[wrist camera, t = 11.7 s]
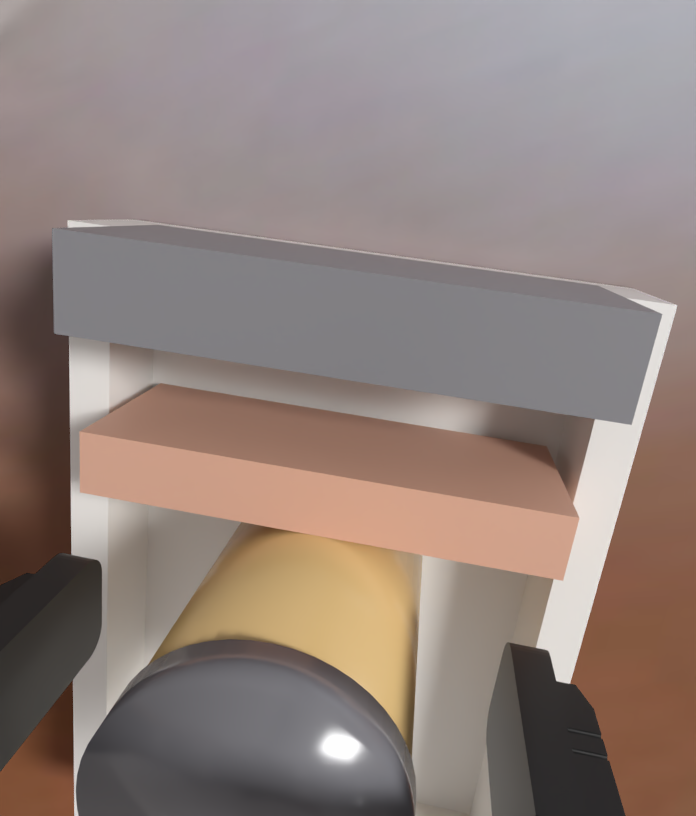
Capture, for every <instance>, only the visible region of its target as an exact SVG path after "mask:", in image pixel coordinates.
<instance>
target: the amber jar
mask: <svg viewBox="0 0 696 816" xmlns="http://www.w3.org/2000/svg"><path fill="white" fill-rule="evenodd" d="M422 560H423V555H419V554H414V553H408V552H403V551H397V550H392V549H386V548H381V547H375V546H370V545H364V544H359V543H354V542H348V541H343V540H337V539H332V538H326V537H321V536H315V535H310V534H304V533H299V532H293V531H288V530H282V529H277V528H272V527H266V526H261V525H255V524H250V523H244V522H241V523H240V524H239V526H238V527H237V529H236V530H235V532H234V534H233V535H232V537H231V538H230V540H229V541H228V543H227V544H226V546H225V547H224V549H223V550H222V552H221V553H220V555H219V556H218V558H217V560H216V561H215V563H214V564H213V566H212V567H211V569H210V570H209V572H208V573H207V575H206V576H205V578H204V579H203V581H202V582H201V584H200V586H199V587H198V589H197V590H196V592H195V593H194V595H193V596H192V598H191V599H190V601H189V602H188V604H187V605H186V607H185V609H184V610H183V612H182V613H181V615H180V616H179V618H178V619H177V621H176V622H175V624H174V625H173V627H172V628H171V630H170V631H169V633H168V635H167V636H166V638H165V639H164V641H163V642H162V644H161V645H160V647H159V648H158V650H157V651H156V653H155V654H154V656H153V657H152V659H151V661H150V662H149V664H148V665H147V666H146V667H145V668H144V669H142V670H141V671H140V672H139V673H138V674H137V675H136V676H135V677H134V678H133V679H132V680H131V681H130V682H129V684H128V685H127V687H126V688H125V689H124V691H123V692H122V694H121V695H120V697H119V698H118V700H117V701H116V703H115V704H114V706H113V707H112V709H111V710H110V712H109V713H108V715H107V716H106V718H105V719H104V721H103V722H102V724H101V725H100V727H99V728H98V730H97V731H96V733H95V734H94V736H93V737H92V739H91V740H90V742H89V743H88V745H87V747H86V749H85V752H84V754H83V756H82V758H81V761H80V765H79V769H78V773H77V781H76V801H77V810H78V814H79V816H415V812H416V776H415V771H414V767H413V762H412V746H413V728H414V709H415V691H416V672H417V653H418V635H419V616H420V598H421V579H422Z"/></svg>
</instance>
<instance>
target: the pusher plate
mask: <svg viewBox="0 0 696 816" xmlns="http://www.w3.org/2000/svg"><path fill="white" fill-rule="evenodd" d="M79 436H80V493H86V494H91V495H97V496H102V497H108V498H113V499H119V500H124V501H129V502H135V503H140V504H146V505H151V506H157V507H162V508H168V509H173V510H179V511H184V512H190V513H195V514H200V515H206V516H211V517H217V518H222V519H228V520H233V521H239V522H244V523H250V524H255V525H261V526H266V527H272V528H277V529H282V530H288V531H293V532H299V533H304V534H310V535H315V536H321V537H326V538H332V539H337V540H343V541H348V542H354V543H359V544H364V545H370V546H375V547H381V548H386V549H392V550H397V551H403V552H408V553H414V554H419V555H425V556H430V557H435V558H441V559H446V560H452V561H457V562H463V563H468V564H474V565H479V566H485V567H490V568H496V569H501V570H507V571H512V572H517V573H523V574H528V575H534V576H539V577H545V578H550V579H556V580H561V581H563V579H564V575H565V571H566V568H567V564H568V560H569V556H570V553H571V549H572V545H573V541H574V537H575V534H576V530H577V526H578V522H579V516H578V514H577V511H576V509H575V507H574V505H573V503H572V500H571V498H570V496H569V494H568V492H567V490H566V487H565V485H564V483H563V481H562V479H561V476H560V474H559V472H558V470H557V468H556V466H555V463H554V461H553V459H552V457H551V455H550V452H549V450H548V448H547V446H542V445H536V444H530V443H524V442H518V441H512V440H505V439H499V438H493V437H487V436H481V435H475V434H469V433H463V432H456V431H450V430H444V429H438V428H432V427H426V426H420V425H414V424H407V423H401V422H395V421H389V420H383V419H377V418H371V417H365V416H358V415H352V414H346V413H340V412H334V411H328V410H322V409H316V408H309V407H303V406H297V405H291V404H285V403H279V402H273V401H267V400H260V399H254V398H248V397H242V396H236V395H230V394H224V393H218V392H211V391H205V390H199V389H193V388H187V387H181V386H175V385H168V384H162V383H160V384H158V385H157V386H155V387H153V388H152V389H150V390H148V391H147V392H145V393H143V394H142V395H140V396H138V397H136V398H135V399H133V400H131V401H130V402H128V403H126V404H125V405H123V406H121V407H120V408H118V409H116V410H115V411H113V412H111V413H110V414H108V415H106V416H105V417H103V418H101V419H100V420H98V421H96V422H95V423H93V424H91V425H90V426H88V427H86V428H84V429H83V430H81V431H79Z"/></svg>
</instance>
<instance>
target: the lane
mask: <svg viewBox="0 0 696 816" xmlns="http://www.w3.org/2000/svg"><path fill="white" fill-rule="evenodd" d="M52 254H53V307H54V334H59V335H65V336H69V380H70V468H71V555H75V556H80V557H85V558H90V559H95V560H98V561H99V562H100V564H101V567H102V628H101V634H100V637H99V641H98V644H97V646H96V648H95V650H94V652H93V654H92V656H91V657H90V659H89V660H88V661H87V662H86V664H85V665H84V666H83V668H82V669H81V670H80V671H79V673H78V674H77V675H76V676H75V678H74V679H73V733H74V816H79V814H78V810H77V801H76V781H77V773H78V769H79V765H80V761H81V758H82V756H83V754H84V752H85V749H86V747H87V745H88V743H89V742H90V740H91V739H92V737H93V736H94V734H95V733H96V731H97V730H98V728H99V727H100V725H101V724H102V722H103V721H104V719H105V718H106V716H107V715H108V713H109V712H110V710H111V709H112V707H113V706H114V704H115V703H116V701H117V700H118V698H119V697H120V695H121V694H122V692H123V691H124V689H125V688H126V687H127V685H128V684H129V682H130V681H131V680H132V679H133V678H134V677H135V676H136V675H137V674H138V673H139V672H140V671H141V670H142V669H144V668H145V667H146V666H147V665H148V664H149V662H150V661H151V659H152V657H153V656H154V654H155V653H156V651H157V650H158V648H159V647H160V645H161V644H162V642H163V641H164V639H165V638H166V636H167V635H168V633H169V631H170V630H171V628H172V627H173V625H174V624H175V622H176V621H177V619H178V618H179V616H180V615H181V613H182V612H183V610H184V609H185V607H186V605H187V604H188V602H189V601H190V599H191V598H192V596H193V595H194V593H195V592H196V590H197V589H198V587H199V586H200V584H201V582H202V581H203V579H204V578H205V576H206V575H207V573H208V572H209V570H210V569H211V567H212V566H213V564H214V563H215V561H216V560H217V558H218V556H219V555H220V553H221V552H222V550H223V549H224V547H225V546H226V544H227V543H228V541H229V540H230V538H231V537H232V535H233V534H234V532H235V530H236V529H237V527H238V526H239V524H240V523H241V522H239V521H233V520H228V519H222V518H217V517H211V516H206V515H200V514H195V513H190V512H184V511H179V510H173V509H168V508H162V507H157V506H151V505H146V504H140V503H135V502H129V501H124V500H119V499H113V498H108V497H102V496H97V495H91V494H86V493H80V436H79V431H81V430H83V429H84V428H86V427H88V426H90V425H91V424H93V423H95V422H96V421H98V420H100V419H101V418H103V417H105V416H106V415H108V414H110V413H111V412H113V411H115V410H116V409H118V408H120V407H121V406H123V405H125V404H126V403H128V402H130V401H131V400H133V399H135V398H136V397H138V396H140V395H142V394H143V393H145V392H147V391H148V390H150V389H152V388H153V387H155V386H157V385H158V384H160V383H162V384H168V385H175V386H181V387H187V388H193V389H199V390H205V391H211V392H218V393H224V394H230V395H236V396H242V397H248V398H254V399H260V400H267V401H273V402H279V403H285V404H291V405H297V406H303V407H309V408H316V409H322V410H328V411H334V412H340V413H346V414H352V415H358V416H365V417H371V418H377V419H383V420H389V421H395V422H401V423H407V424H414V425H420V426H426V427H432V428H438V429H444V430H450V431H456V432H463V433H469V434H475V435H481V436H487V437H493V438H499V439H505V440H512V441H518V442H524V443H530V444H536V445H542V446H547V448H548V450H549V452H550V455H551V457H552V459H553V461H554V463H555V466H556V468H557V470H558V472H559V474H560V476H561V479H562V481H563V483H564V485H565V487H566V490H567V492H568V494H569V496H570V498H571V500H572V503H573V505H574V507H575V509H576V511H577V514H578V516H579V522H578V526H577V530H576V534H575V537H574V541H573V545H572V549H571V553H570V556H569V560H568V564H567V568H566V571H565V575H564V579H563V581H561V580H556V579H550V578H545V577H539V576H534V575H528V574H523V573H517V572H512V571H507V570H501V569H496V568H490V567H485V566H479V565H474V564H468V563H463V562H457V561H452V560H446V559H441V558H435V557H430V556H425V555H423V560H422V579H421V598H420V616H419V635H418V653H417V672H416V691H415V709H414V728H413V746H412V762H413V767H414V771H415V776H416V812H415V816H492V810H491V797H490V784H489V771H488V758H487V745H486V731H487V719H488V712H489V707H490V703H491V698H492V694H493V690H494V686H495V682H496V678H497V674H498V670H499V666H500V662H501V658H502V654H503V650H504V647H505V645H506V643H507V642H509V643H514V644H519V645H524V646H529V647H535V648H540V649H545V650H548V651H549V653H550V657H551V661H552V665H553V669H554V674H555V678H556V681H558V682H563V683H568V684H570V682H571V678H572V675H573V671H574V668H575V664H576V661H577V657H578V654H579V650H580V647H581V643H582V639H583V636H584V632H585V629H586V625H587V622H588V618H589V615H590V611H591V608H592V604H593V601H594V597H595V594H596V590H597V587H598V583H599V580H600V576H601V573H602V569H603V566H604V562H605V559H606V555H607V551H608V548H609V544H610V541H611V537H612V534H613V530H614V527H615V523H616V520H617V516H618V513H619V509H620V506H621V502H622V499H623V495H624V492H625V488H626V485H627V481H628V478H629V474H630V471H631V467H632V463H633V460H634V456H635V453H636V449H637V446H638V442H639V439H640V435H641V432H642V428H643V425H644V421H645V418H646V414H647V411H648V407H649V404H650V400H651V397H652V393H653V390H654V386H655V382H656V379H657V375H658V372H659V368H660V365H661V361H662V358H663V354H664V351H665V347H666V344H667V340H668V337H669V333H670V330H671V326H672V323H673V319H674V316H675V312H676V309H677V305H676V304H673V303H670V302H668V301H665V300H662V299H660V298H657V297H654V296H652V295H649V294H646V293H644V292H641V291H638V290H636V289H633V288H628V287H621V286H614V285H606V284H599V283H592V282H585V281H577V280H570V279H563V278H556V277H548V276H541V275H534V274H527V273H519V272H512V271H505V270H498V269H490V268H483V267H476V266H468V265H461V264H454V263H447V262H439V261H432V260H425V259H418V258H410V257H403V256H396V255H389V254H381V253H374V252H367V251H360V250H352V249H345V248H338V247H330V246H323V245H316V244H309V243H301V242H294V241H287V240H280V239H272V238H265V237H258V236H251V235H243V234H236V233H229V232H222V231H214V230H207V229H200V228H193V227H185V226H178V225H171V224H163V223H156V222H149V221H142V220H68V228H52Z"/></svg>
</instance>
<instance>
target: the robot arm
mask: <svg viewBox="0 0 696 816" xmlns="http://www.w3.org/2000/svg"><path fill="white" fill-rule="evenodd" d="M101 628H102V567H101V564H100V562H99V561H98V560H95V559H90V558H85V557H80V556H75V555H70V554H65V553H59V554H57V555H56V556H55V557H53V558H52V559H51V560H50V561H49V562H48V563H47V564H46V565H44V566H43V567H42V568H41V569H40V570H39V571H38V572H37V573H36V574H30V573H26V574H24V575H21V576H19V577H17V578H15V579H13V580H11V581H9V582H7V583H4V584H2V585H0V771H1V770H2V769H3V768H4V766H5V765H6V764H7V763H8V761H9V760H10V759H11V758H12V756H13V755H14V754H15V752H16V751H17V750H18V749H19V747H20V746H21V745H22V744H23V742H24V741H25V740H26V739H27V737H28V736H29V735H30V733H31V732H32V731H33V730H34V728H35V727H36V726H37V725H38V723H39V722H40V721H41V719H42V718H43V717H44V716H45V714H46V713H47V712H48V711H49V709H50V708H51V707H52V706H53V704H54V703H55V702H56V700H57V699H58V698H59V697H60V695H61V694H62V693H63V692H64V690H65V689H66V688H67V687H68V685H69V684H70V683H71V681H72V680H73V679H74V678H75V676H76V675H77V674H78V673H79V671H80V670H81V669H82V668H83V666H84V665H85V664H86V662H87V661H88V660H89V659H90V657H91V656H92V654H93V652H94V650H95V648H96V646H97V644H98V641H99V637H100V634H101ZM486 745H487V758H488V771H489V784H490V797H491V810H492V816H625V813H624V809H623V806H622V803H621V799H620V796H619V793H618V789H617V786H616V783H615V779H614V776H613V772H612V769H611V766H610V762H609V761H607V752H606V749H605V746H604V742H603V739H601V732H600V729H599V725H598V722H597V719H596V715H595V712H594V709H593V708H592V706H591V705H590V704H589V702H588V701H587V700H586V698H585V697H584V696H583V694H582V693H581V692H580V690H579V689H578V688H577V686H576V685H573V684H568V683H563V682H558V681H556V678H555V674H554V669H553V665H552V661H551V657H550V653H549V651H548V650H545V649H540V648H535V647H529V646H524V645H519V644H514V643H509V642H507V643H506V645H505V647H504V650H503V654H502V658H501V662H500V666H499V670H498V674H497V678H496V682H495V686H494V690H493V694H492V698H491V703H490V707H489V712H488V719H487V731H486Z"/></svg>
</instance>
